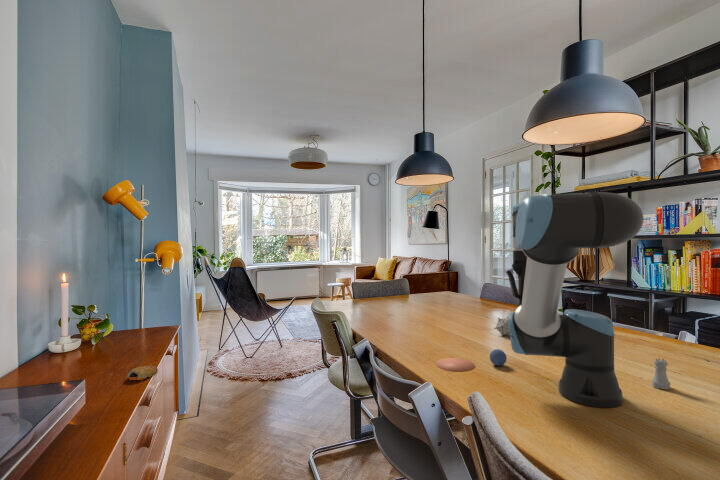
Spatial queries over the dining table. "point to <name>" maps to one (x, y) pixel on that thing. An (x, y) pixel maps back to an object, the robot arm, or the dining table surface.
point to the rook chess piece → (660, 375)
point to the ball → (498, 357)
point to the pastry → (143, 372)
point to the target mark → (455, 364)
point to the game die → (503, 326)
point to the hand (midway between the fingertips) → (526, 318)
